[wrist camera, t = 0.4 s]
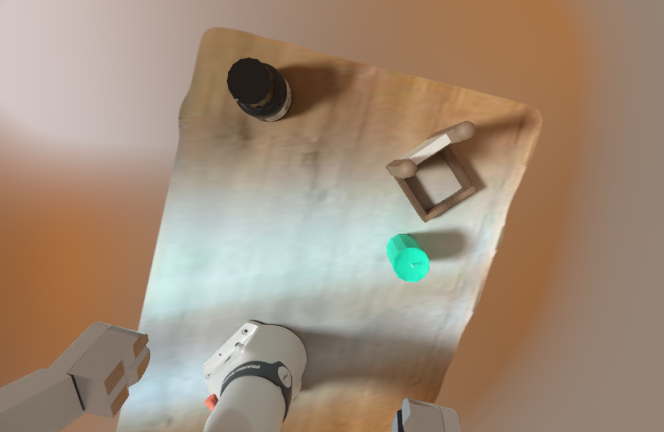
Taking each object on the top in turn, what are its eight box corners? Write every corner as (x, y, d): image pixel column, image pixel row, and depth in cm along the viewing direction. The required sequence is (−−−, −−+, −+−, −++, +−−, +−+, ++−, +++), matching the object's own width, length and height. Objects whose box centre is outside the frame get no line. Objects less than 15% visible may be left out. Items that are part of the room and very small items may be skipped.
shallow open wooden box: (421, 219, 62) (425, 222, 59) (392, 174, 61) (394, 174, 58) (470, 189, 61) (476, 190, 58) (440, 142, 60) (445, 141, 57)
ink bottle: (284, 130, 61) (267, 122, 50) (239, 116, 61) (213, 104, 50) (299, 79, 60) (286, 57, 48) (253, 64, 60) (229, 39, 48)
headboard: (390, 176, 61) (406, 181, 44) (383, 166, 61) (397, 166, 43) (443, 141, 60) (481, 132, 42) (436, 130, 60) (472, 116, 42)
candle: (390, 230, 63) (400, 245, 51) (421, 238, 63) (437, 254, 51) (382, 259, 64) (389, 280, 52) (412, 266, 64) (426, 289, 52)
